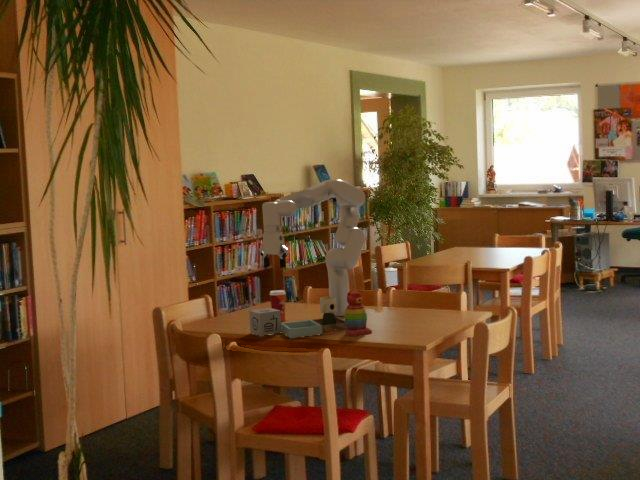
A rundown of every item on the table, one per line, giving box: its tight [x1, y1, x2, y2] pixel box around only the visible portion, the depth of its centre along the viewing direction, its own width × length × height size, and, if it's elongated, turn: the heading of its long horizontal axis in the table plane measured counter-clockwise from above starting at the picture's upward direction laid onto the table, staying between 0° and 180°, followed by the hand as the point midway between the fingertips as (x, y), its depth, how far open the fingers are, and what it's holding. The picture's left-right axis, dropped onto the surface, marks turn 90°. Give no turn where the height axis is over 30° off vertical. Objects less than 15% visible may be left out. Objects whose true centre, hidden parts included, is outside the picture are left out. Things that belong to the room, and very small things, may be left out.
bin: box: [281, 319, 323, 339], centre depth 375 cm, size 14×16×4 cm
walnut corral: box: [312, 316, 347, 332], centre depth 386 cm, size 13×17×2 cm
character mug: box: [319, 296, 337, 325], centre depth 386 cm, size 11×7×13 cm, turn 151°
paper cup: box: [268, 289, 287, 322], centre depth 408 cm, size 8×8×14 cm
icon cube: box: [248, 307, 282, 338], centre depth 379 cm, size 10×10×10 cm
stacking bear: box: [344, 290, 373, 337], centre depth 368 cm, size 11×10×18 cm
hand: (274, 267), depth 395 cm, fingers open, 9 cm apart
